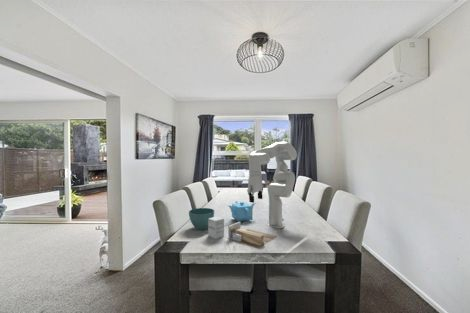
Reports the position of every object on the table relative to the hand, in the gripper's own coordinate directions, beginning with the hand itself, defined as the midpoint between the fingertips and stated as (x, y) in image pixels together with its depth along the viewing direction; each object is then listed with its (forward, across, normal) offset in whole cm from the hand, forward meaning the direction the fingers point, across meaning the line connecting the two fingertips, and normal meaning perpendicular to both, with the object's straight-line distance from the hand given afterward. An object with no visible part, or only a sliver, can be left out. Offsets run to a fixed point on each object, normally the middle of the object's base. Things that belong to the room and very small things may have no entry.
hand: (256, 200), depth 142 cm
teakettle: (+25, -23, -30) cm, 46 cm away
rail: (+22, +12, +2) cm, 24 cm away
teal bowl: (+23, +9, -41) cm, 48 cm away
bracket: (+22, +12, -5) cm, 25 cm away
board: (+23, +6, 0) cm, 24 cm away
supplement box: (+23, +18, -19) cm, 35 cm away
